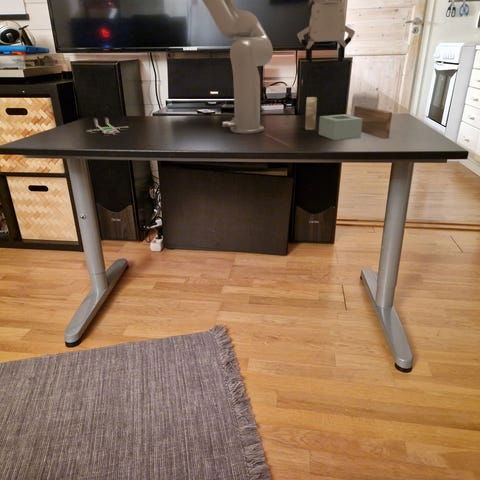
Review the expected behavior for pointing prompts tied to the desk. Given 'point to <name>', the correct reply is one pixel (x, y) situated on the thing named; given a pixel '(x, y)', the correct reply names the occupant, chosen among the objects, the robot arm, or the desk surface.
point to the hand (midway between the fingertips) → (324, 62)
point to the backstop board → (374, 121)
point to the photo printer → (365, 99)
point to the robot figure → (106, 128)
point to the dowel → (310, 113)
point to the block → (340, 126)
